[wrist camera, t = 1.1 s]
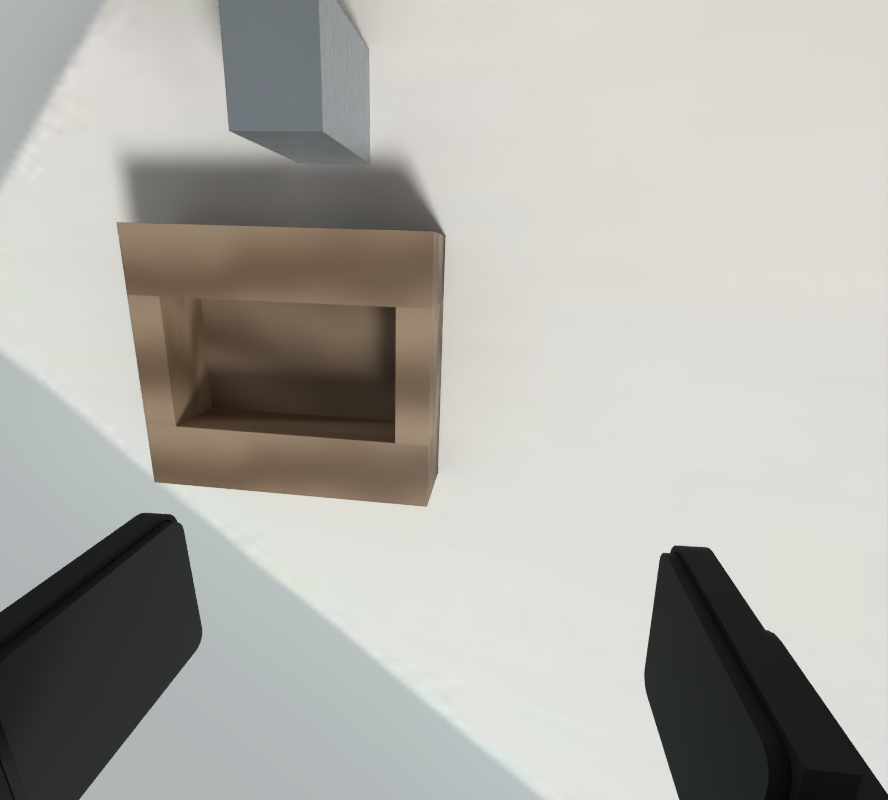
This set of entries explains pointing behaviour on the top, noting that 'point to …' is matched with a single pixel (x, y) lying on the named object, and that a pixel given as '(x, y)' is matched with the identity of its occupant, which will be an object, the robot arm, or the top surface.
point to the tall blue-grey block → (297, 79)
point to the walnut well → (289, 357)
